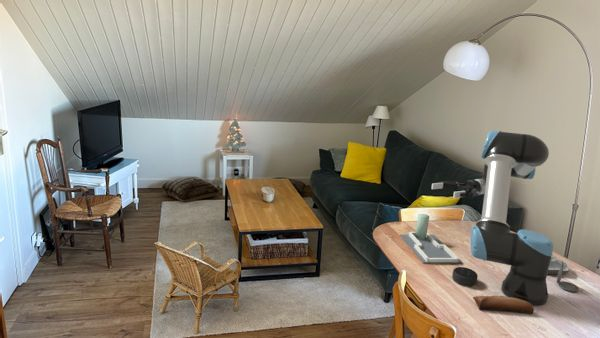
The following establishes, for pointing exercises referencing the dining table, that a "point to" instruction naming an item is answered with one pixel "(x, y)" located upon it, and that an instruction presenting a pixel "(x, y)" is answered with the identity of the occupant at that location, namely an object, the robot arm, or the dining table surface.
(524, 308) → the sunglasses case
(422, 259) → the keyhole track
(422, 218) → the sage post
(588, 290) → the dining table surface
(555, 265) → the brain slice
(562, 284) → the grey disc stand
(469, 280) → the smart speaker
